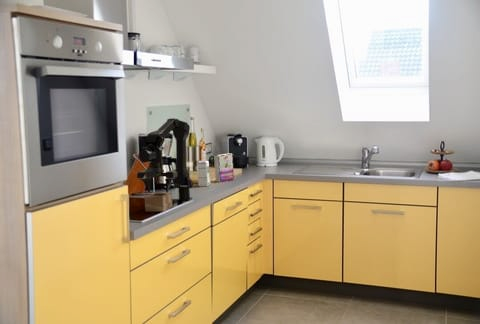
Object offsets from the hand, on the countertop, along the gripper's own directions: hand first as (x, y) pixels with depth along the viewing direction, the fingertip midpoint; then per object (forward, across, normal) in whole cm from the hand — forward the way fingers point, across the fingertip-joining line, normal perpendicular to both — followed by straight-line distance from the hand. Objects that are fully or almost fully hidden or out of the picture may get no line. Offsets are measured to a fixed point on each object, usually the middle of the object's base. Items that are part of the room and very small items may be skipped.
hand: (158, 192), depth 282 cm
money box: (+8, 0, 0) cm, 8 cm away
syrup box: (+8, -2, +70) cm, 70 cm away
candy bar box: (+8, +5, +88) cm, 88 cm away
